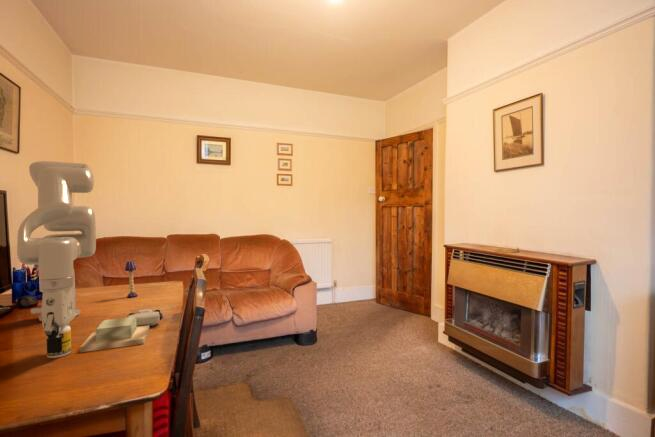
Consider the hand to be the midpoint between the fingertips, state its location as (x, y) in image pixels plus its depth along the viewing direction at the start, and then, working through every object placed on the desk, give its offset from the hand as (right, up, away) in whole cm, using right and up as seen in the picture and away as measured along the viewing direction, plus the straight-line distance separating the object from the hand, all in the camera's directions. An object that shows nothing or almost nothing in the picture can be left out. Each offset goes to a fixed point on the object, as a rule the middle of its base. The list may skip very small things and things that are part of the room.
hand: (59, 347), depth 95 cm
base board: (+10, -2, +10) cm, 14 cm away
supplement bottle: (0, -2, 0) cm, 2 cm away
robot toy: (+10, -2, +26) cm, 28 cm away
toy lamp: (-17, -1, +64) cm, 66 cm away
